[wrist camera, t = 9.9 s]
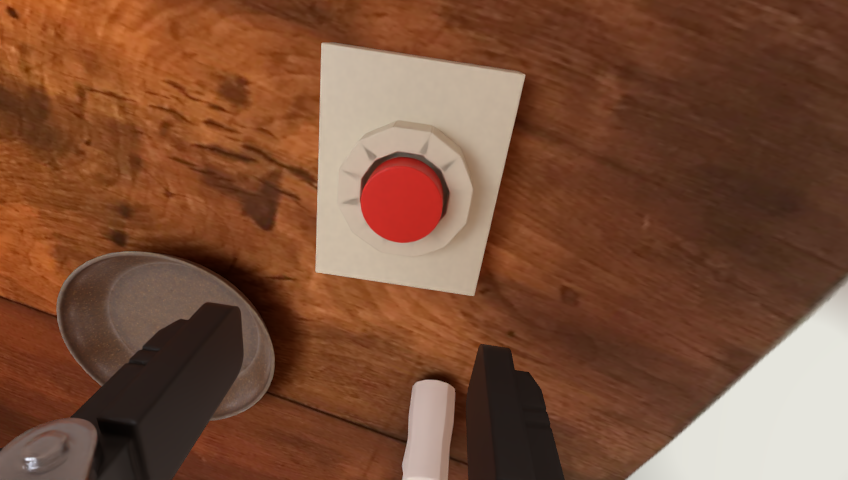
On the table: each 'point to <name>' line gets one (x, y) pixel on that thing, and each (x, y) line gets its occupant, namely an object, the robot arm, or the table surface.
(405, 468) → the faucet
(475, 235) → the button box
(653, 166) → the table surface
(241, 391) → the saucer
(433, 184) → the button
